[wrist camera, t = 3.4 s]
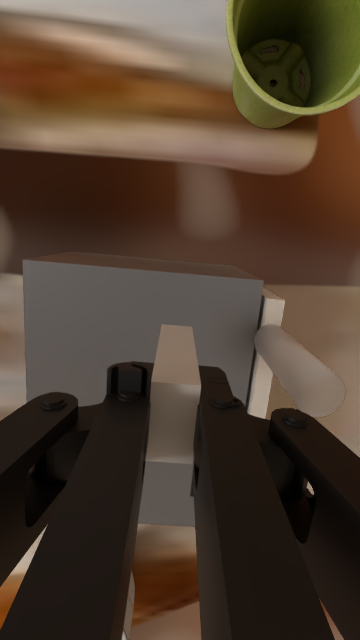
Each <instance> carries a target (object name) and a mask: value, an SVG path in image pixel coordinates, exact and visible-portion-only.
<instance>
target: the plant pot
mask: <svg viewBox="0 0 360 640" xmlns="http://www.w3.org/2000/svg"><path fill="white" fill-rule="evenodd" d="M226 29H227V37H228V43H229V47H230V51H231V54H232V57H233V60H234V70H233V84H232V88H233V97H234V100H235V103H236V106H237V108H238V110H239V112H240V113H241V114H242V115H243V116H244V117H245V118H246V119H247V120H249V121H250V122H251V123H253V124H254V125H255V126H258V127H261V128H268V129H271V128H278V127H281V126H283V125H286V124H288V123H290V122H291V121H293V120H295V119H297V118H299V117H301V116H312V115H319V114H323V113H327V112H330V111H332V110H335V109H337V108H340V107H342V106H344V105H345V104H347V103H349V102H350V101H352V100H353V99H355V98H356V97H358V96H359V95H360V0H227V7H226ZM270 46H276V47H278V51H277V52H268V53H264V54H261V53H260V52H261V50H262V49H264V48H268V47H270ZM300 70H301V71H302V72H303V74H304V78H305V86H304V88H303V89H302V90H301V89H300ZM271 80H275V81H276V86H274V87H272V86H270V81H271Z"/></svg>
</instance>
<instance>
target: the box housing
mask: <svg viewBox="0 0 360 640" xmlns="http://www.w3.org/2000/svg"><path fill="white" fill-rule="evenodd" d="M263 285H264V280H262V279H260V278H258V277H256V276H254V275H252V274H250V273H248V272H246V271H244V270H242V269H240V268H237V267H236V266H231V265H220V264H209V263H196V262H185V261H174V260H163V259H152V258H140V257H129V256H117V255H106V254H94V253H83V252H70V253H63V254H57V255H50V256H43V257H37V258H31V259H24V260H23V290H24V323H25V356H26V388H27V403H28V402H29V401H30V400H32V399H34V398H36V397H38V396H40V395H43V394H47V393H49V392H62V393H68V394H71V395H74V396H75V397H76V398H77V399H78V407H80V406H90V405H96V404H99V403H102V402H103V401H104V398H105V396H106V389H107V369H108V368H109V367H110V366H111V365H114V364H116V363H122V362H131V361H137V362H149V363H155V358H156V352H157V347H158V342H159V336H160V331H161V326H162V324H166V325H178V326H190V327H192V329H193V335H194V342H195V348H196V355H197V361H198V365H199V366H211V367H219V368H220V369H221V370H223V371H224V372H225V373H226V376H227V380H228V382H229V385H230V388H231V391H232V394H233V396H234V397H236V398H238V399H239V400H241V401H242V403H243V404H244V406H245V404H246V397H247V391H248V384H249V378H250V371H251V364H252V358H253V351H254V336H255V334H256V331H257V325H258V318H259V311H260V305H261V298H262V291H263ZM193 466H194V455H193V464H181V463H167V462H153V461H146V463H145V475H144V482H143V489H142V497H141V504H140V511H139V518H138V523H141V524H158V525H175V526H192V527H195V512H194V497H191V496H190V492H191V483H192V475H193Z"/></svg>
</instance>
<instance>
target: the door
mask: <svg viewBox="0 0 360 640" xmlns="http://www.w3.org/2000/svg"><path fill="white" fill-rule="evenodd" d="M284 305H285V300H284V299H282V298H280V297H279V296H277V295H275V294H274V293H272V292H270V291H268V290H267V289H265V288H263V291H262V298H261V305H260V311H259V318H258V325H257V331H256V334H255V336H254V351H253V358H252V364H251V371H250V378H249V384H248V391H247V397H246V404H245V408H246V411H247V413H248V414H250V415H253V416H256V417H259V418H263V419H265V417H266V412H267V406H268V400H269V394H270V388H271V382H272V376H273V373H274V375H275V376H276V378H277V379H278V380H279V382H280V383H281V385H282V386H283V387H284V389H285V390H286V392H287V393H288V394H289V396H290V397H291V399H292V400H293V401H294V403H295V404H296V405H297V407H298V408H299V410H300V411H302V412H304V413H306V414H308V415H310V416H311V417H325V416H328V415H330V414H332V413H334V412H335V411H336V410H337V409H338V408H339V407H340V406H341V405H342V403H343V401H344V398H345V394H346V390H345V385H344V383H343V381H342V380H341V379H340V377H338V376H337V375H336V374H335V373H334V372H333V371H331V370H330V369H329V368H328V367H327V366H326V365H324V364H323V363H322V362H321V361H320V360H319V359H317V358H316V357H315V356H314V355H313V354H312V353H310V352H309V351H308V350H307V349H306V348H305V347H303V346H302V345H301V344H300V343H299V342H298V341H296V340H295V339H294V338H293V337H292V336H291V335H289V334H288V333H287V332H286V331H285V330H284V329H282V328H281V323H282V317H283V311H284Z"/></svg>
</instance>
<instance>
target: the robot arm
mask: <svg viewBox="0 0 360 640" xmlns="http://www.w3.org/2000/svg"><path fill="white" fill-rule="evenodd" d="M193 455H194V466H193V475H192V483H191V492H190V496H191V497H194V512H195V530H196V548H197V566H198V584H199V602H200V620H201V638H202V640H335V639H334V636H333V634H332V631H331V628H330V626H329V623H328V621H327V618H326V616H325V613H324V611H323V608H322V605H321V603H320V600H321V602H322V604H323V605H324V607H325V608H326V610H327V612H328V613H329V615H330V617H331V618H332V620H333V622H334V623H335V625H336V627H337V628H338V630H339V632H340V633H341V635H342V637H343V638H344V640H360V458H359V457H358V456H357V455H356V454H355V453H354V452H352V451H351V450H350V449H349V448H348V447H347V446H345V445H344V444H343V443H342V442H341V441H340V440H339V439H337V438H336V437H335V436H334V435H333V434H332V433H331V432H329V431H328V430H327V429H326V428H325V427H324V426H322V425H321V424H320V423H319V422H318V421H317V420H316V419H314V418H313V417H311V416H310V415H308V414H306V413H304V412H302V411H300V410H297V409H295V410H294V409H292V408H288V409H287V408H281V409H276V410H274V411H273V412H272V414H271V420H267V419H263V418H259V417H256V416H253V415H250V414H248V413H247V411H246V408H245V406H244V404H243V403H242V401H241V400H239V399H238V398H236V397H234V396H233V394H232V391H231V388H230V385H229V382H228V380H227V376H226V373H225V372H224V371H223V370H221V369H220V368H219V367H211V366H199V365H198V361H197V355H196V348H195V342H194V335H193V329H192V327H190V326H178V325H166V324H162V326H161V331H160V336H159V342H158V347H157V352H156V358H155V363H149V362H137V361H131V362H122V363H116V364H114V365H111V366H110V367H109V368H108V369H107V389H106V396H105V398H104V401H103V402H102V403H99V404H96V405H90V406H80V407H78V399H77V398H76V397H75V396H74V395H71V394H68V393H62V392H49V393H47V394H43V395H40V396H38V397H36V398H34V399H32V400H30V401H29V402H28V403H26V404H25V405H23V406H22V407H20V408H19V409H17V410H16V411H14V412H13V413H11V414H10V415H9V416H7V417H6V418H4V419H3V420H1V421H0V587H1V585H2V584H3V583H4V581H5V580H6V579H7V577H8V576H9V575H10V573H11V572H12V571H13V569H14V568H15V567H16V565H17V564H18V563H19V561H20V560H21V559H22V557H23V556H24V555H25V553H26V552H27V551H28V549H29V548H30V547H31V545H32V544H33V543H34V541H35V540H36V539H37V537H38V536H39V535H40V534H41V532H42V531H43V530H44V528H45V527H46V526H47V528H46V530H45V532H44V534H43V536H42V539H41V541H40V543H39V545H38V548H37V550H36V552H35V554H34V556H33V559H32V561H31V563H30V565H29V568H28V570H27V572H26V574H25V576H24V579H23V581H22V583H21V585H20V588H19V590H18V592H17V594H16V597H15V599H14V601H13V603H12V605H11V608H10V610H9V612H8V614H7V617H6V619H5V621H4V623H3V625H2V628H1V630H0V640H122V635H123V628H124V620H125V613H126V606H127V598H128V591H129V584H130V577H131V569H132V562H133V555H134V548H135V540H136V533H137V526H138V518H139V511H140V504H141V497H142V489H143V482H144V475H145V463H146V461H153V462H167V463H181V464H193ZM308 481H309V483H310V485H311V486H312V488H313V491H314V495H312V494H311V493H310V491H309V490H308V489H307V484H308ZM47 524H48V525H47ZM319 599H320V600H319Z"/></svg>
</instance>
